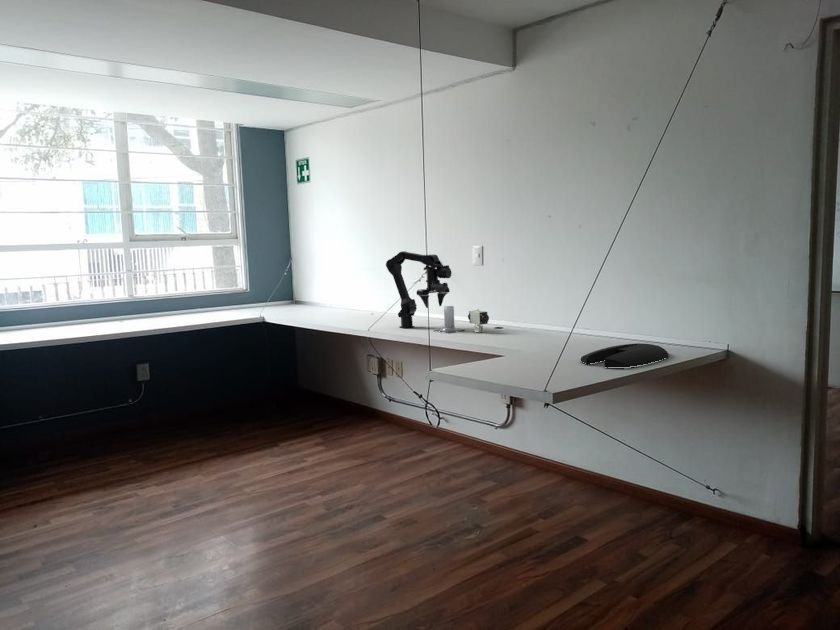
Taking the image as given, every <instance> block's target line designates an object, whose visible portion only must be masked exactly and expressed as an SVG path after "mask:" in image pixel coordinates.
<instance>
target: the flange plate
mask: <svg viewBox="0 0 840 630" xmlns="http://www.w3.org/2000/svg"><path fill="white" fill-rule="evenodd" d="M433 330H434V331H433V332H435V331H440V332H439V333H442V332H446V333H445V334H451V333H450V332H453V333H457V332H456V331H459V332H463V331H462V330H465V331H466V329H465V328H460V327H455V329H454V330H444V327H442V328H441V327H440V328H436V329H435V328H434V329H433Z"/></svg>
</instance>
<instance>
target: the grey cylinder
mask: <svg viewBox="0 0 840 630" xmlns="http://www.w3.org/2000/svg"><path fill="white" fill-rule="evenodd" d="M443 316H444V317H443V318H444V320H443V321H444V326H443V328H444V330H454V329H455V328H456V326H455V307H454V306H453V305H445V306H443Z"/></svg>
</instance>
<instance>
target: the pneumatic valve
mask: <svg viewBox="0 0 840 630" xmlns="http://www.w3.org/2000/svg"><path fill="white" fill-rule="evenodd" d="M467 318H468V321H469V324H474V326H473V331H474V333H476V332H480V333H484V325H488V322H489V320H490V316H489V315H488V311H485V310H480V309H479V308H477V310H476V309H475V310H469V312H468V316H467Z"/></svg>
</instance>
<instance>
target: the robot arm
mask: <svg viewBox="0 0 840 630" xmlns="http://www.w3.org/2000/svg"><path fill="white" fill-rule="evenodd" d="M406 260H408V261H412V262H413V261H414V262H419V263H421V264H423V265H425V266H424V267H423V271H426V278H427V279H426V280H425V282H426V283H427V287H426V288H425V289H424V288H423V289H422V288H421V289H420V288H419V289H417V290H416V296H418V297H419V298H420V299H421V301H422V303H423V305H424V306H425V308H426V309H429V297H430V295H429V294H434V293H435V294H436V293H437V294H436V295H437V301H438V305H439V307H442V304H443V302H444V298H445V297H446V295H447V294H449V293H450V287H449V285H448V282H443V283H441V281H440V279H450V278H451V277H452V269H451V268H450V264H449V265H443V263H442V262H441V260H440V258H439V256H438V255H437V254H419V253H415V252H409V251H399V252H397V254H396V255H394V256H392V257H391V258H389V259H388V260H387V261H386V262H385V266H386V268H387V270H388V272H389V274H390V275H391V276H392V277H393V280H394V283H395V286H396V289H397V291H398V292H397V293H398V294H399V297H400V300H401V301H400V308H401V309H400V310H399V311H398V313H397V316H398V318H400V326H399V328H401V329H411V328H415V326H414V324H413V317H414V316H415V313H416V311H417V306H418V305H417V303H416V300H415V298H411V297H410V294H409V292H408V288H407V286H406V283H405V279H404V277H403V275H402V270H403V269H402V268H403V267H402V264H403V263H404V262H405V261H406Z"/></svg>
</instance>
